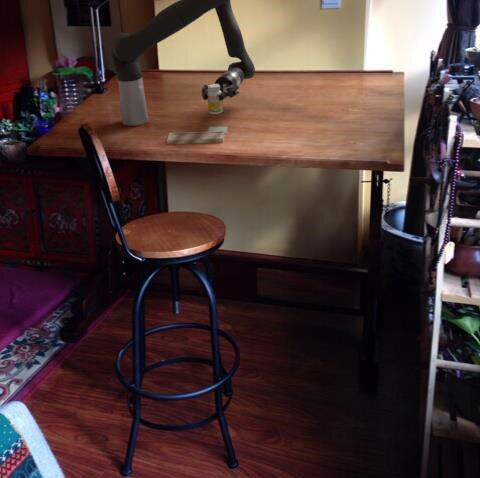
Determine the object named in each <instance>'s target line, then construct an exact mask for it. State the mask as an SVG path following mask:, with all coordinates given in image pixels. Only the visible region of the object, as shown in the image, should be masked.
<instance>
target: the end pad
mask: <svg viewBox="0 0 480 478" xmlns="http://www.w3.org/2000/svg"><path fill="white" fill-rule="evenodd" d="M228 129H229V128H228V125H227V126H209V127H208V129H207V132H213V131H224V132H225V135H227V132H228Z"/></svg>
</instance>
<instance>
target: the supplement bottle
mask: <svg viewBox="0 0 480 478" xmlns="http://www.w3.org/2000/svg"><path fill="white" fill-rule="evenodd" d="M207 86H208V87H209V91H208V93H207V97H208V99H207V104H208V105H207V107H208V113H210V114H211V115H212V114H213V115H218V114H221V113H223V112H224V103H223V100H224V99H223V100H222V101H220V100H219V94H221V93H222V92H221V91H220V85H219V84H215V83H212V84H209V85H207Z"/></svg>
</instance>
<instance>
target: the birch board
mask: <svg viewBox="0 0 480 478" xmlns="http://www.w3.org/2000/svg"><path fill="white" fill-rule="evenodd" d="M225 135H226V134H225V132H224V131H213V132H208V131H190V132H188V131H187V132H169V134H168V136H167V138H166V145H178V144H179V145H182V144H183V145H185V144H208V143H209V144H210V143H212V144H213V143H214V144H216V143H224V141H225V137H226V136H225Z"/></svg>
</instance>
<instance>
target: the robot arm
mask: <svg viewBox="0 0 480 478" xmlns="http://www.w3.org/2000/svg"><path fill="white" fill-rule="evenodd" d="M213 9H214V10H215V12H216V15H217V19H218V22H219V24H220V28H221V30H222V31H221V32H222V36H223V39H224V43H225V48H226V51H227V55H228V57H230V58H234V59H236V58H237V59H238V60H240V61H235V62H232V63H230V64H228V68H227V70H226V72H223V73H222V74H221V75H220V76H219V77H218V78H216V80H215V82H214V84H219V85H220V91H221V92H222V93H221V94H219V100H220V101H222V100H225V99H226V98H228V97H229V98H230V99H231V98H234V97H235V96H236V95H239V94H240V85H241V84H242V83H243V82H244V80H248V79H252V78H254V76H255V73H256V68H255V65H254V62H253V61H252V59H251V57H250V55H249V54H248V51H247V49H246V47H245V42H244V37H243V35H242V31H241V29H240V26H239V23H238V22H237V19H236V16H235V14H234V12H233V9H232V4H231V0H177V1H175V2H174V3H171V4H170V5H168V6H167V7H165V8H163V9H162V10H161V11H159V12H158V13H157V14H156V15H155V16H153V18H152V19H151V20H150V21H149V22H148V23H147V24H145V26H144V27H142V28H141V29H139V30H137V31H135V32H133V33H131V34H129V33H126V32H120V33H118V34H116V35H115V36H114V37H113V38H112V41H111V45H110V47H111V54H112V61H113V67H114V71H115V73H116V77H117V83H118V89H119V96H120V99H119V106H120V112H121V119H122V123H123V125H124V126H129V127H130V126H135V127H136V126H141V125H144V124H146V123H148V122H149V115H148V109H147V102H146V96H145V88H144V80H143V74H142V73H143V72H142V69H141V66H140V64H139V62H140V61H139V59H138V58H139V57H140V56H142V55H143V54H145V53H146V52H147V51H149V50H150V49H151V48H153V47H154V46H155V45H157V44H158V43H161V42H163V41H164V40H167V38H169V37H171V36H173V35H175V34H177V33H178V32H180V31H181V30H183V29H185V28H186V27H187V26H189V25H190V24H192V23H193V22H195V21H196V20H198V19H199V18H201V17H202V16H203V15H205V14H206V13H208V12H209V11H212V10H213ZM208 86H209V85H207V84H204V85H203V87H202V88H201V95H202V99H203V100H204V101H208V97H207V93H208V91H209V87H208Z"/></svg>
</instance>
